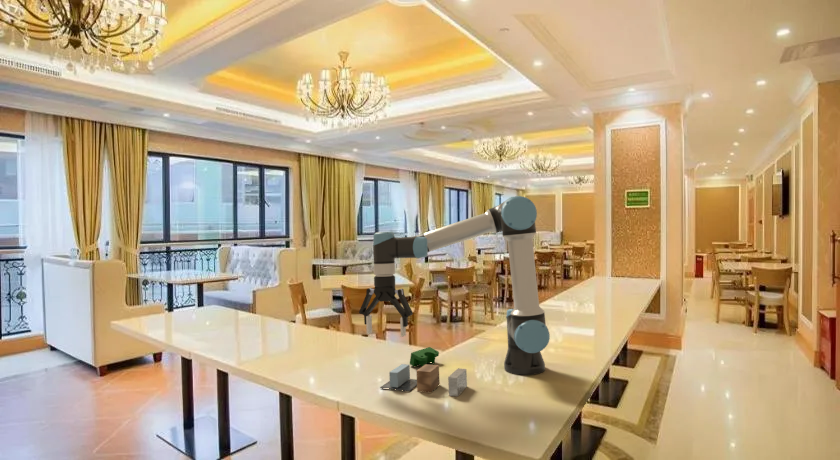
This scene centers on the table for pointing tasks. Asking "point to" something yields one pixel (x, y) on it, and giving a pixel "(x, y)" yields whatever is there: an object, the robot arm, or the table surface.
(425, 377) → the block
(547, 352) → the table surface
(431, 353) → the clamp
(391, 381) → the blue-gray rectangular block
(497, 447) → the table surface
